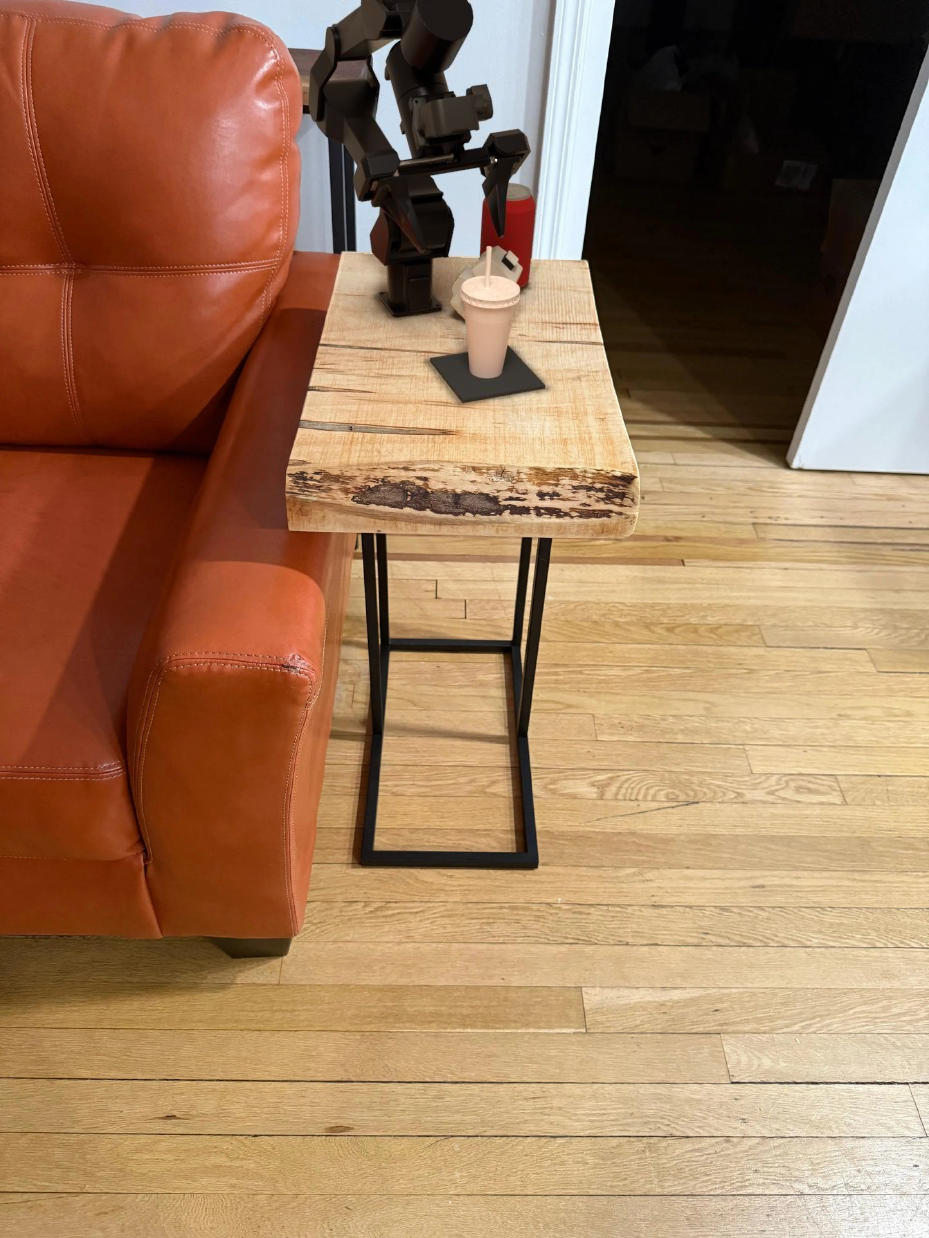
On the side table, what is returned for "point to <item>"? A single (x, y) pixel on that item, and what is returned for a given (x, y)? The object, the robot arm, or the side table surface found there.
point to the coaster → (475, 388)
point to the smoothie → (488, 319)
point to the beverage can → (513, 228)
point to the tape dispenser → (500, 266)
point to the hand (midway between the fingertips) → (462, 243)
